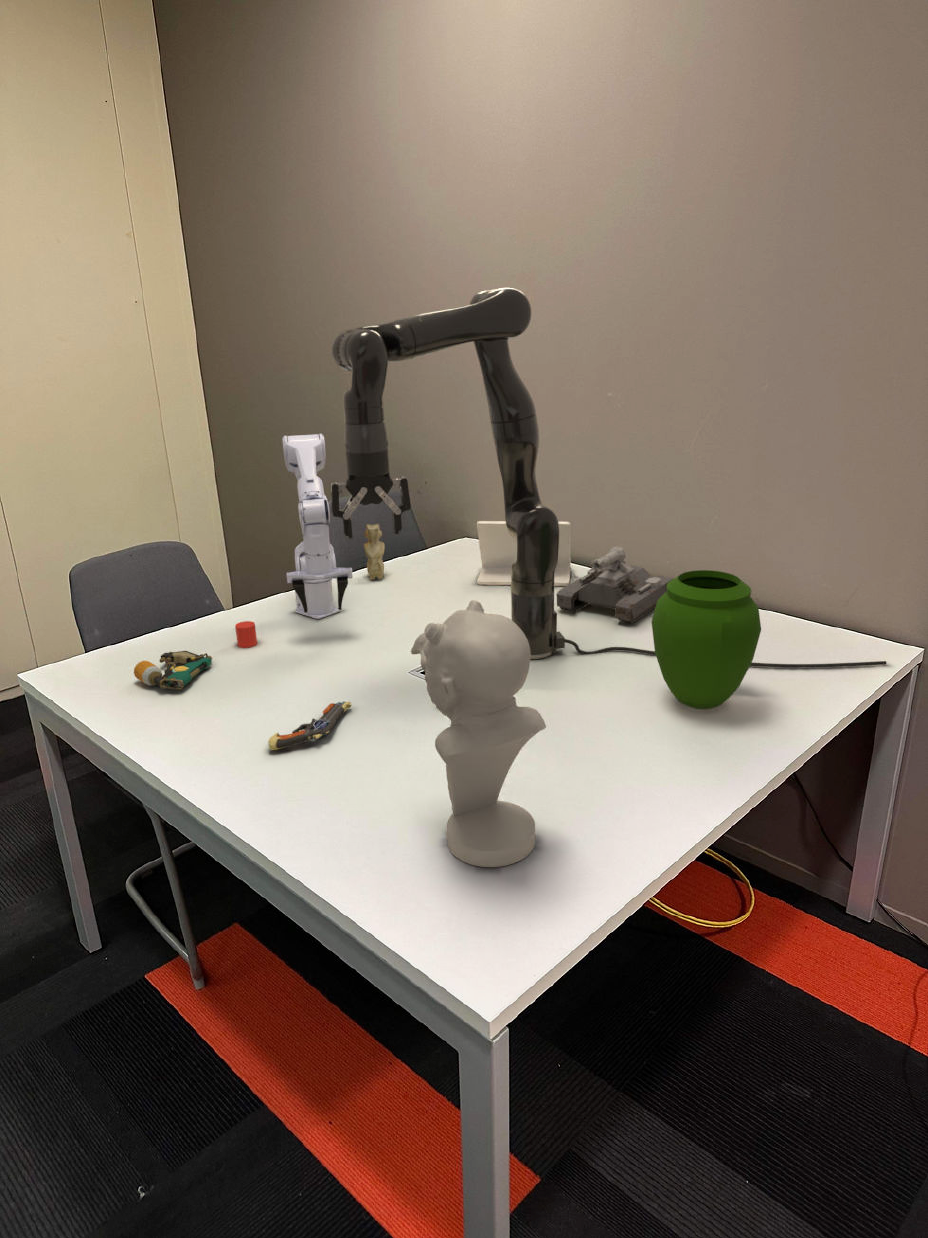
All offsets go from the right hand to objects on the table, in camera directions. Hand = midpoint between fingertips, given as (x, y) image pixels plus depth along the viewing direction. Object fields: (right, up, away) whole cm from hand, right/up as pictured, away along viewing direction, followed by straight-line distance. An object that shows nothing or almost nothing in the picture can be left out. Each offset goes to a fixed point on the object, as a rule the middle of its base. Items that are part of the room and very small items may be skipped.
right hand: (373, 535), depth 158 cm
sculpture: (-8, -4, +83) cm, 84 cm away
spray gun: (-44, -28, +23) cm, 57 cm away
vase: (+62, -31, +5) cm, 69 cm away
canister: (-33, -21, +39) cm, 56 cm away
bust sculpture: (+18, -47, -33) cm, 60 cm away
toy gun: (-11, -36, -1) cm, 37 cm away
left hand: (-15, -13, +37) cm, 42 cm away
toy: (+55, -12, +57) cm, 80 cm away
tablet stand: (+34, -3, +81) cm, 88 cm away
